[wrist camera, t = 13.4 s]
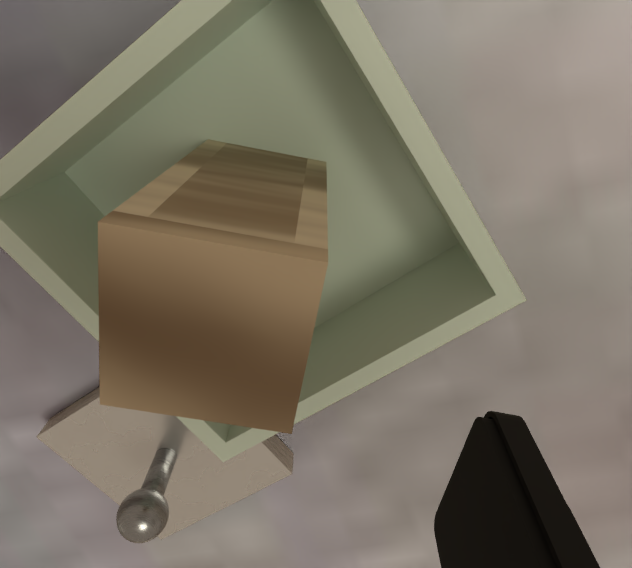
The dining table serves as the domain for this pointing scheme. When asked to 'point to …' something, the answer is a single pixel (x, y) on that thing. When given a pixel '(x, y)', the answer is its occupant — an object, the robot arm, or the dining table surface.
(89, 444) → the stud plate
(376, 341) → the bin
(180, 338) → the strut
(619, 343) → the dining table surface
